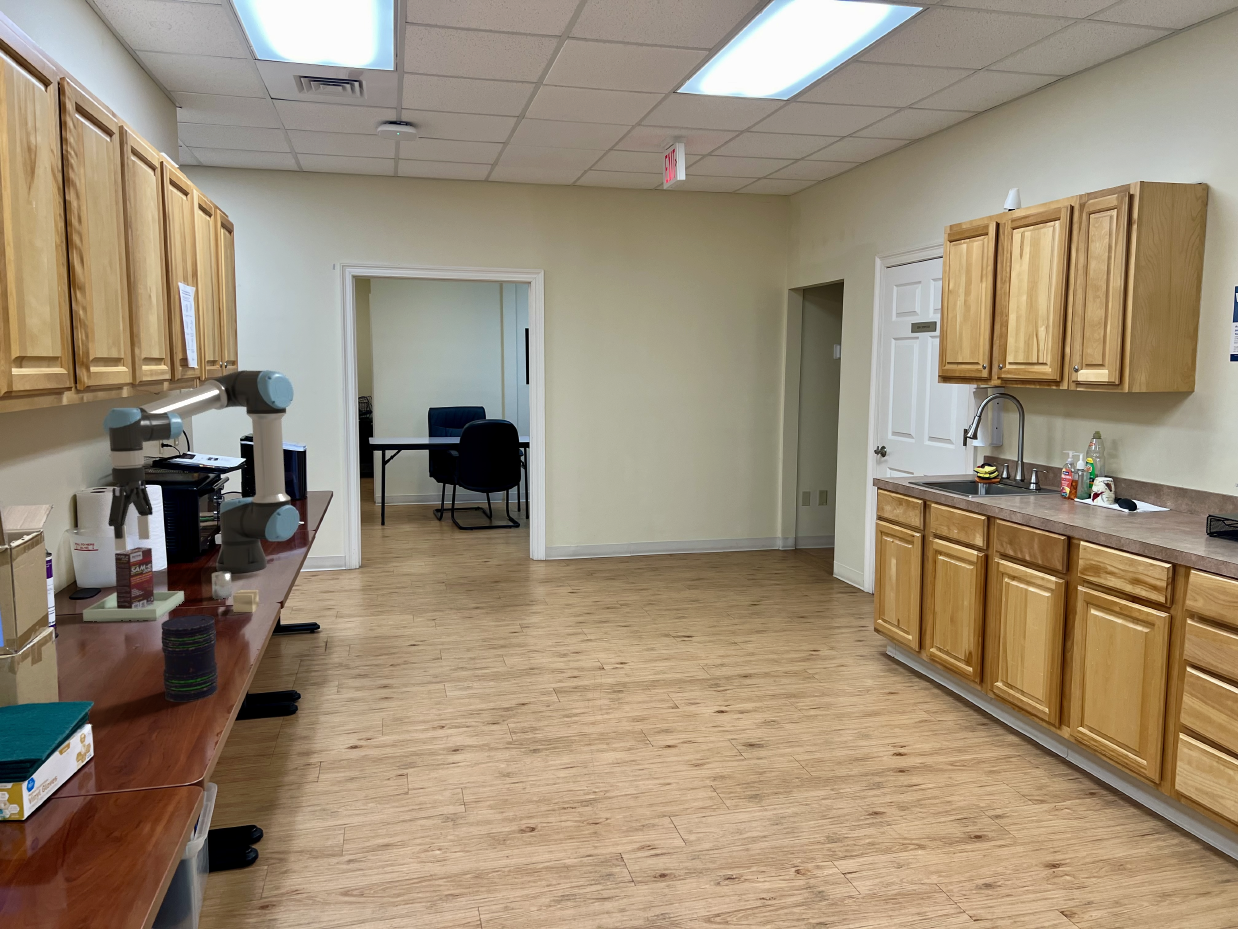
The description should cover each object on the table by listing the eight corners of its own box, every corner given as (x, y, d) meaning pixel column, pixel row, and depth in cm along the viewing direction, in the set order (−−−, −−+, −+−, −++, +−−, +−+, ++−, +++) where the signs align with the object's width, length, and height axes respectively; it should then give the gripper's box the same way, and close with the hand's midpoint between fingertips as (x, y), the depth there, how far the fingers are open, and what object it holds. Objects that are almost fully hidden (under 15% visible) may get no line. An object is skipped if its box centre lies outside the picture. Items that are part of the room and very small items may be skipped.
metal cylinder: (216, 595, 247) (215, 571, 246) (234, 594, 248) (233, 571, 247) (210, 599, 242) (209, 575, 241) (228, 599, 243) (227, 575, 242)
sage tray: (116, 602, 238) (116, 592, 238) (184, 601, 240) (183, 591, 240) (83, 621, 220) (82, 610, 220) (156, 620, 222) (156, 609, 222)
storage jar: (168, 706, 167) (164, 632, 165) (160, 690, 175) (156, 619, 173) (223, 695, 173) (220, 623, 171) (213, 680, 181) (210, 611, 179)
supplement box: (132, 613, 226) (129, 554, 224) (116, 611, 227) (113, 553, 225) (155, 604, 234) (152, 547, 232) (140, 603, 235) (137, 546, 233)
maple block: (240, 608, 235) (239, 590, 234) (258, 607, 235) (258, 590, 235) (233, 613, 230) (232, 595, 229) (252, 613, 230) (252, 595, 230)
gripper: (134, 460, 238) (139, 535, 240) (89, 472, 213) (95, 555, 216) (162, 460, 238) (167, 534, 241) (120, 472, 214) (126, 555, 217)
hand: (133, 544), depth 228 cm, fingers open, 13 cm apart
